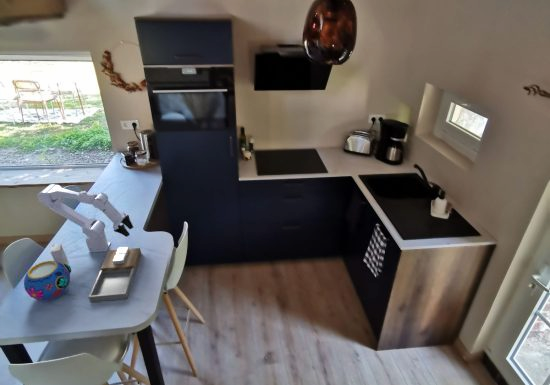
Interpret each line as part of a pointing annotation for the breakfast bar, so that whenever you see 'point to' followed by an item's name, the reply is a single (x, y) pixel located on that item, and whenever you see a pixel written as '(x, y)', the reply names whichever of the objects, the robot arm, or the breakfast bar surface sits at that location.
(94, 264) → the breakfast bar surface
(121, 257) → the blue grey tile
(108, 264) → the tan wooden board
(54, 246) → the skincare box
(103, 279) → the bin
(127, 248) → the cream tile
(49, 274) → the ceramic pot
